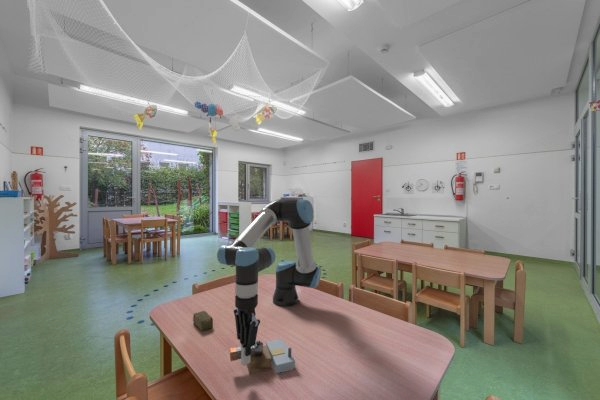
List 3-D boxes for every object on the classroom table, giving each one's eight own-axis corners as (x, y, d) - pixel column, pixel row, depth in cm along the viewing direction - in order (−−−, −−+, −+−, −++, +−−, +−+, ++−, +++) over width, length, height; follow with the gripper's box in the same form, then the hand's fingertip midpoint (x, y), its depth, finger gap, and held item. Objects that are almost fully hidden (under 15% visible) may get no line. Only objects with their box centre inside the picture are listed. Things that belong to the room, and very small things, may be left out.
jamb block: (266, 355, 99) (266, 345, 99) (271, 368, 92) (271, 357, 92) (245, 360, 96) (245, 349, 96) (249, 374, 89) (249, 362, 89)
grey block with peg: (282, 345, 106) (282, 331, 106) (294, 368, 92) (295, 352, 92) (266, 349, 103) (266, 334, 103) (276, 373, 89) (276, 356, 89)
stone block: (201, 332, 115) (201, 321, 115) (192, 323, 124) (192, 312, 124) (213, 328, 119) (213, 317, 119) (204, 319, 128) (204, 309, 128)
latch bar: (261, 349, 96) (262, 338, 96) (264, 354, 93) (264, 343, 93) (229, 356, 92) (230, 344, 92) (230, 362, 89) (231, 350, 88)
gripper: (267, 296, 84) (266, 367, 84) (245, 286, 93) (244, 349, 93) (247, 303, 78) (246, 378, 79) (227, 291, 88) (226, 358, 88)
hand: (245, 362), depth 86 cm, fingers closed
